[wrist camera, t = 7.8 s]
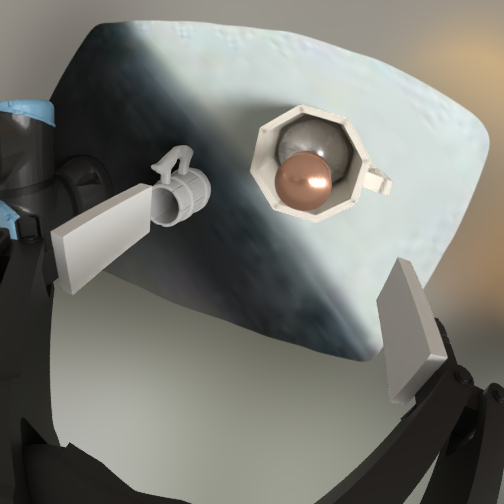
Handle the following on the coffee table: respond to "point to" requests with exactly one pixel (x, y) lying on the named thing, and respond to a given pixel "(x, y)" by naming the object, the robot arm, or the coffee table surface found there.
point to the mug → (178, 188)
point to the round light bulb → (309, 164)
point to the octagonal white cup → (342, 189)
